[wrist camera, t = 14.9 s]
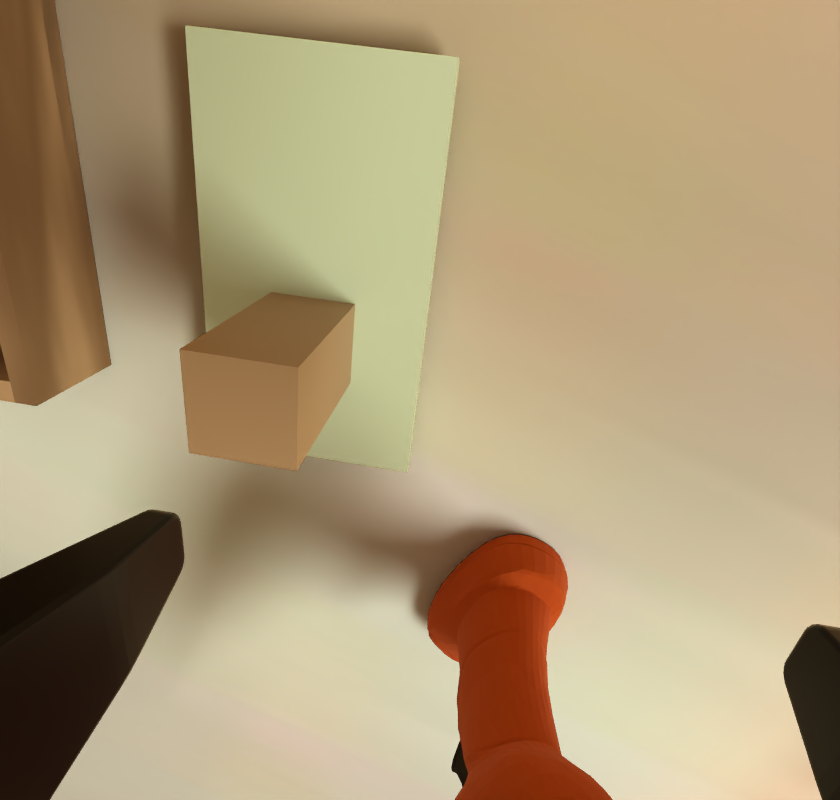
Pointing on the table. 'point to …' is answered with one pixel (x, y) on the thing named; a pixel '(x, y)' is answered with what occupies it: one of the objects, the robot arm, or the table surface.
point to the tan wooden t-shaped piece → (42, 219)
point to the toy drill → (506, 672)
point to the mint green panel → (313, 244)
